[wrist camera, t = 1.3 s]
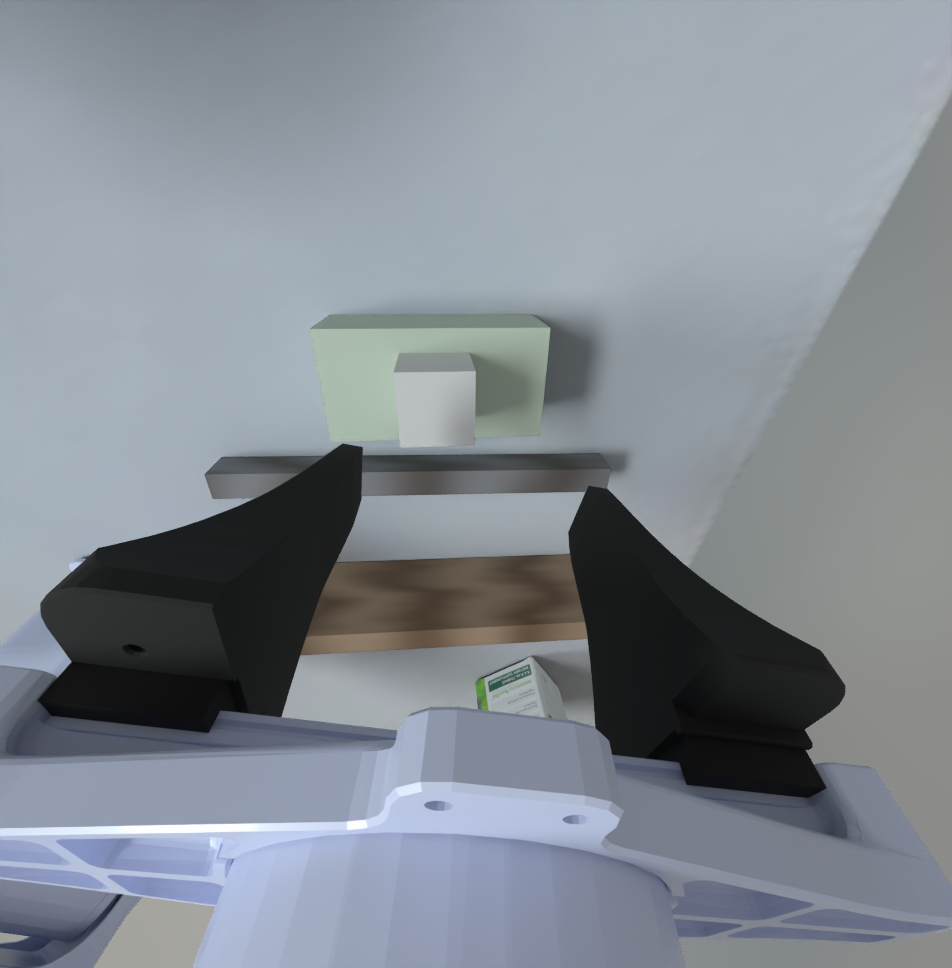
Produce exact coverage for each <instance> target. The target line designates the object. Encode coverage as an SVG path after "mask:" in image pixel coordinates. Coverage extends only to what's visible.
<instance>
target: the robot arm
mask: <svg viewBox="0 0 952 968" xmlns="http://www.w3.org/2000/svg"><path fill="white" fill-rule="evenodd" d="M362 454H363V447H359V446H353V445H347V444H342V445H340V446H339V447H337V448H336V449H334V450H333V451H331V452H330V453H328V454H327V455H326V456H324V457H323V458H321V459H320V460H318V461H317V462H316V463H314V464H313V465H311V466H310V467H308V468H307V469H305V470H304V471H302V472H301V473H299V474H298V475H296V476H295V477H293V478H291V479H290V480H288V481H286V482H284V483H283V484H281V485H279V486H278V487H276V488H274V489H273V490H271V491H269V492H267V493H265V494H263V495H261V496H259V497H257V498H255V499H253V500H251V501H249V502H246V503H244V504H242V505H240V506H238V507H235V508H233V509H230V510H227V511H225V512H222V513H220V514H217V515H215V516H212V517H209V518H207V519H204V520H201V521H199V522H196V523H192V524H189V525H186V526H183V527H180V528H177V529H173V530H170V531H167V532H163V533H160V534H156V535H152V536H149V537H144V538H140V539H136V540H132V541H127V542H123V543H119V544H115V545H111V546H106V547H101V548H98V549H97V550H96V551H94V552H93V553H92V554H91V555H90V556H89V557H88V558H87V559H75V560H74V561H73V562H72V563H70V565H69V568H70V570H71V573H70V574H69V575H68V576H67V577H66V578H65V579H64V580H62V581H61V582H60V583H59V584H58V585H57V586H56V587H55V588H54V589H53V590H51V591H50V592H49V593H48V594H47V595H46V596H45V598H44V599H43V600H42V602H41V604H40V609H39V610H38V611H36V612H35V613H34V614H33V615H32V616H31V617H30V618H29V619H28V620H27V621H26V622H25V623H24V624H23V625H21V626H20V627H19V628H18V629H17V630H16V631H15V632H14V633H13V634H12V635H11V636H10V637H9V638H7V639H6V640H5V641H4V642H3V643H2V644H1V645H0V932H3V933H9V934H17V935H24V936H29V937H27V938H25V939H22V940H19V941H16V942H5V943H0V968H93V967H94V966H95V964H96V963H97V961H98V959H99V958H100V956H101V955H102V953H103V951H104V949H105V948H106V947H107V945H108V943H109V942H110V940H111V939H112V937H113V936H114V934H115V933H116V931H117V930H118V928H119V926H120V925H121V924H122V922H123V921H124V919H125V918H126V916H127V915H128V914H129V912H130V911H131V910H132V909H133V908H134V907H135V905H136V904H137V903H138V902H139V900H140V899H141V898H142V897H147V898H155V899H162V900H170V901H177V902H185V903H192V904H200V905H207V906H215V910H214V912H213V915H212V918H211V920H210V923H209V925H208V928H207V931H206V933H205V936H204V938H203V941H202V944H201V946H200V949H199V951H198V954H197V957H196V959H195V962H194V964H193V967H192V968H686V965H685V961H684V957H683V953H682V949H681V945H680V941H679V938H703V939H704V938H705V939H762V940H799V941H822V942H840V943H855V944H869V945H873V944H879V943H885V942H890V941H896V940H901V939H907V938H912V937H918V936H923V935H929V934H934V933H940V932H945V931H950V930H952V885H951V883H950V882H949V881H948V879H947V877H946V876H945V875H944V873H943V871H942V870H941V868H940V867H939V865H938V864H937V862H936V861H935V859H934V858H933V856H932V855H931V853H930V852H929V850H928V849H927V847H926V846H925V844H924V843H923V842H922V840H921V838H920V837H919V835H918V834H917V832H916V831H915V829H914V828H913V826H912V825H911V823H910V822H909V820H908V819H907V817H906V816H905V814H904V813H903V811H902V810H901V808H900V807H899V805H898V803H897V802H896V800H895V799H894V798H893V796H892V794H891V793H890V791H889V790H888V788H887V787H886V785H885V784H884V782H883V781H882V780H881V778H880V776H879V775H878V773H877V772H876V771H875V769H872V768H870V767H866V766H858V765H849V764H841V763H819V764H815V765H813V763H812V761H811V759H810V758H809V756H808V754H807V752H806V750H809V749H811V748H812V742H811V740H810V738H809V736H808V735H807V733H806V731H805V730H804V729H806V728H807V727H809V726H810V725H812V724H813V723H815V722H816V721H818V720H819V719H820V718H822V717H823V716H825V715H826V714H828V713H829V712H831V711H832V710H833V709H834V708H836V707H837V706H838V705H839V704H840V702H841V701H842V699H843V697H844V695H845V684H844V683H843V682H842V680H841V679H840V677H839V676H838V674H837V673H836V672H835V670H834V669H833V667H832V666H831V664H830V663H829V661H828V660H827V658H826V657H825V656H824V654H823V653H822V652H821V651H820V650H819V649H817V648H815V647H813V646H811V645H809V644H807V643H805V642H803V641H801V640H800V639H798V638H796V637H794V636H792V635H790V634H788V633H786V632H784V631H783V630H781V629H779V628H777V627H775V626H773V625H771V624H770V623H768V622H767V621H765V620H763V619H762V618H760V617H758V616H757V615H755V614H753V613H752V612H750V611H748V610H747V609H745V608H743V607H742V606H741V605H739V604H737V603H736V602H734V601H733V600H731V599H730V598H728V597H727V596H726V595H724V594H723V593H721V592H720V591H718V590H717V589H715V588H714V587H713V586H711V585H710V584H709V583H707V582H706V581H704V580H703V579H702V578H701V577H699V576H698V575H697V574H696V573H694V572H693V571H692V570H691V569H689V568H688V567H687V566H686V565H684V564H683V563H682V562H681V561H680V560H678V559H677V558H676V557H675V556H674V555H673V554H672V553H671V552H669V551H668V550H667V549H666V548H665V547H664V546H663V545H662V544H661V543H660V542H659V541H658V540H657V539H656V538H655V537H654V536H653V535H652V534H651V533H650V532H649V531H648V530H647V529H646V528H645V527H644V526H643V525H642V524H641V523H640V522H639V521H638V520H637V519H636V518H635V517H634V516H633V515H632V514H631V513H630V512H629V511H628V510H627V508H626V507H625V506H624V505H623V504H622V503H621V502H620V501H619V500H618V499H617V498H616V497H615V496H614V495H613V494H612V493H611V492H610V491H609V490H608V489H605V488H600V487H594V486H588V488H587V490H586V493H585V495H584V497H583V500H582V502H581V504H580V507H579V509H578V511H577V513H576V516H575V518H574V520H573V523H572V525H571V527H570V530H569V532H568V533H569V548H570V558H571V564H572V568H573V573H574V577H575V581H576V586H577V590H578V594H579V598H580V603H581V607H582V611H583V615H584V620H585V625H586V630H587V637H588V646H589V654H590V663H591V673H592V684H593V696H594V712H595V727H596V729H595V728H594V727H593V726H590V725H586V724H582V723H579V722H575V721H571V720H562V719H554V718H546V717H537V716H529V715H521V714H512V713H504V712H496V711H487V710H479V709H470V708H462V707H430V708H427V709H424V710H421V711H418V712H415V713H412V714H411V715H409V716H408V717H407V718H406V719H405V720H404V721H403V723H402V724H401V725H400V726H399V727H398V730H388V729H379V728H371V727H362V726H353V725H344V724H335V723H326V722H318V721H309V720H300V719H291V718H282V717H281V716H282V713H283V710H284V706H285V703H286V699H287V696H288V693H289V689H290V686H291V683H292V680H293V677H294V673H295V670H296V667H297V664H298V661H299V657H300V654H301V651H302V648H303V645H304V642H305V639H306V636H307V633H308V630H309V627H310V624H311V621H312V618H313V616H314V613H315V610H316V607H317V604H318V601H319V598H320V596H321V593H322V591H323V588H324V586H325V584H326V582H327V579H328V577H329V575H330V573H331V571H332V569H333V567H334V565H335V563H336V561H337V559H338V556H339V554H340V552H341V550H342V548H343V546H344V544H345V542H346V540H347V537H348V535H349V533H350V531H351V529H352V527H353V524H354V521H355V518H356V515H357V512H358V509H359V505H360V502H361V496H362Z"/></svg>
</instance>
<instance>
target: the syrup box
mask: <svg viewBox="0 0 952 968" xmlns="http://www.w3.org/2000/svg"><path fill="white" fill-rule="evenodd" d="M476 693H477V702H478V709H479V710H487V711H496V712H504V713H512V714H521V715H529V716H537V717H546V718H554V719H562V720H568V719H567V715H566V712H565V709H564V705H563V702H562V699H561V695H560V692H559V689H558V687H557V686H556V685H555V683H554V682H553V681H552V680H551V678H550V677H549V676H548V675H547V673H546V672H545V671H544V670H543V669H542V667H541V666H540V665H539V664H538V663H537V662H536V660H535V659H534V658H533V657H532V656H530V657H528V658H526V659H525V660H524V661H522V662H520V663H518V664H515V665H513V666H510V667H508V668H506V669H504V670H501V671H499V672H497V673H495V674H492V675H490V676H488V677H485V678H482V679H479V680H477V681H476Z"/></svg>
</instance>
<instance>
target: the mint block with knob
mask: <svg viewBox="0 0 952 968" xmlns="http://www.w3.org/2000/svg"><path fill="white" fill-rule="evenodd" d="M309 330H310V335H311V341H312V346H313V351H314V357H315V362H316V367H317V373H318V378H319V383H320V389H321V394H322V399H323V405H324V410H325V415H326V421H327V426H328V431H329V437H330V442H340V441H373V440H400V448H403V447H434V446H466V445H475V437H507V436H540V432H541V422H542V411H543V401H544V391H545V381H546V371H547V361H548V350H549V340H550V330H551V327H549V326H548V325H546V324H545V323H543V322H542V321H541V320H539V319H538V318H536V317H535V316H533V315H532V314H469V315H328V316H327V317H326V318H324V319H323V320H321V321H320V322H319V323H317V324H316V325H314V326H313V327H312V328H310V329H309Z"/></svg>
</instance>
